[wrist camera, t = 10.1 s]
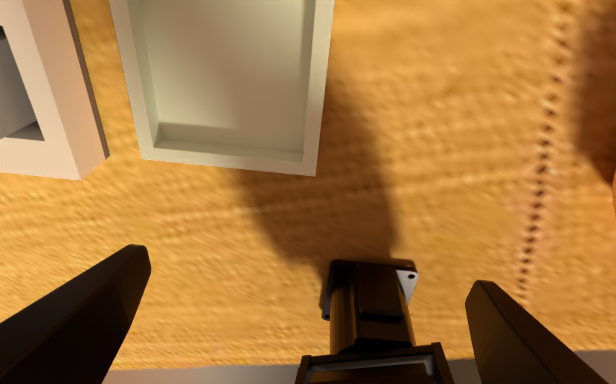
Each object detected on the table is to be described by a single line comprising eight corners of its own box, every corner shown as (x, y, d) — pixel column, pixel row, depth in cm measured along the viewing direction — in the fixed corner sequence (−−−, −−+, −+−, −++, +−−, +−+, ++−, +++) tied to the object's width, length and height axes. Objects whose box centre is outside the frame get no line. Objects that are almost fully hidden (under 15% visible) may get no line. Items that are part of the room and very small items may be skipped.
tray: (316, 162, 21) (315, 176, 20) (154, 146, 21) (141, 159, 20) (337, -32, 16) (338, -32, 14) (118, -53, 16) (97, -55, 14)
